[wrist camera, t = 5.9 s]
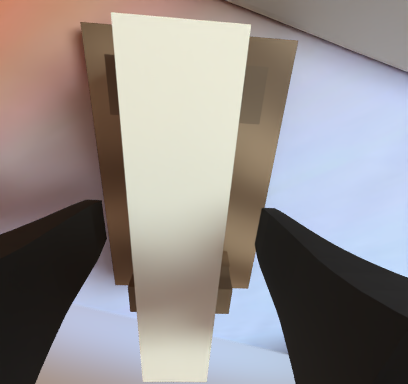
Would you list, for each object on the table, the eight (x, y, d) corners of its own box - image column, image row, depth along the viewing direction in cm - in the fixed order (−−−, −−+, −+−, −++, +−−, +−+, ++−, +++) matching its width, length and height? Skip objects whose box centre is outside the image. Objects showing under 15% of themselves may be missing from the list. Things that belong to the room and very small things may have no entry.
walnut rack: (245, 276, 18) (258, 330, 14) (120, 272, 18) (97, 327, 14) (288, 45, 12) (338, 21, 8) (91, 28, 11) (30, -8, 7)
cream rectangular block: (203, 294, 15) (206, 381, 11) (159, 293, 15) (142, 381, 11) (225, 56, 9) (251, 24, 5) (153, 50, 9) (110, 12, 5)
